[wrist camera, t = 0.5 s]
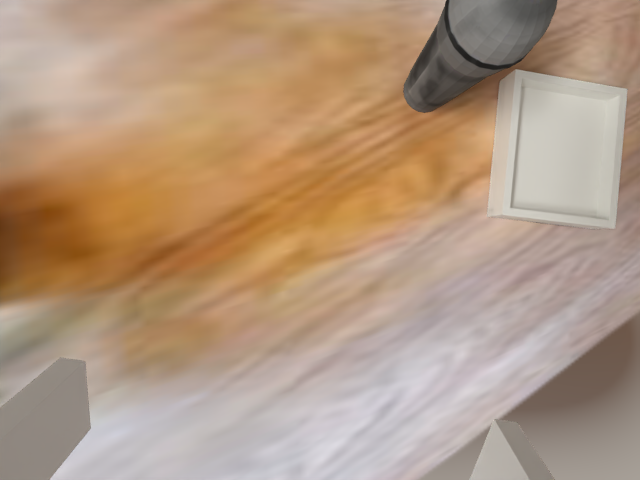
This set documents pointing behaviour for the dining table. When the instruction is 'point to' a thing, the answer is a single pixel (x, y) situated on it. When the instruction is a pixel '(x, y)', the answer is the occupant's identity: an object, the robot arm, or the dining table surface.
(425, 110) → the beverage cup
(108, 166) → the dining table surface
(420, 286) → the dining table surface
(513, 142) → the tray
